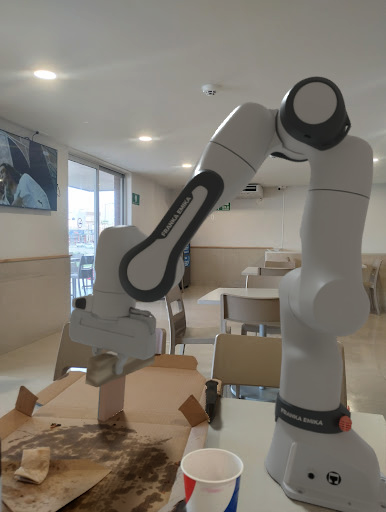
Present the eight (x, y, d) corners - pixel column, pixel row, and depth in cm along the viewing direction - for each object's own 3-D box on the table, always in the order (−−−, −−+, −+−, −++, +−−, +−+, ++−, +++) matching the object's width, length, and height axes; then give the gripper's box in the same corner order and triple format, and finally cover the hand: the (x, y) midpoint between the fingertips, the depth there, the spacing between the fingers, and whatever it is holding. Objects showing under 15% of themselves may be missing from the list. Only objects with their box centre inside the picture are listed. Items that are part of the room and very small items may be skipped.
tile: (123, 410, 91) (126, 370, 91) (104, 421, 85) (106, 378, 84) (116, 408, 92) (119, 368, 92) (97, 419, 86) (100, 376, 85)
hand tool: (204, 392, 106) (205, 376, 106) (218, 393, 106) (219, 377, 106) (197, 424, 88) (198, 404, 87) (214, 426, 87) (215, 406, 87)
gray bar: (154, 363, 89) (156, 342, 89) (97, 387, 71) (99, 361, 71) (143, 360, 91) (145, 340, 90) (85, 383, 73) (87, 358, 73)
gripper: (165, 310, 74) (159, 378, 74) (87, 295, 83) (82, 356, 84) (147, 314, 68) (141, 388, 69) (66, 298, 78) (61, 363, 78)
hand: (108, 370), depth 76 cm, fingers closed on gray bar, 3 cm apart
